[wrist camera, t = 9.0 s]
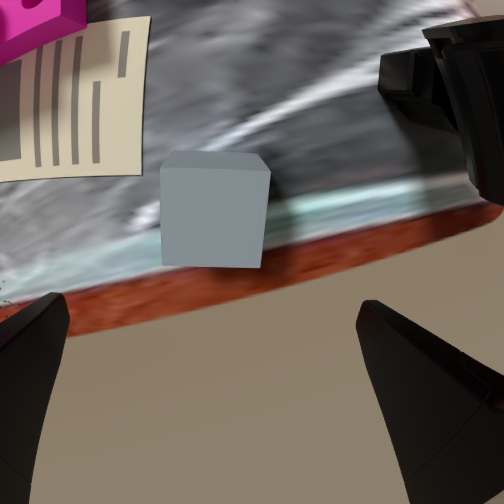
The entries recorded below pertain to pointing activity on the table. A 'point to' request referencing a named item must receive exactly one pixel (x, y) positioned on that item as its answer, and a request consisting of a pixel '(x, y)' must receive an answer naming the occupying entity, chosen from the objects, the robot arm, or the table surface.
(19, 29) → the toy block
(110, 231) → the table surface
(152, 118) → the table surface
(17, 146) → the letter
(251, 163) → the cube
